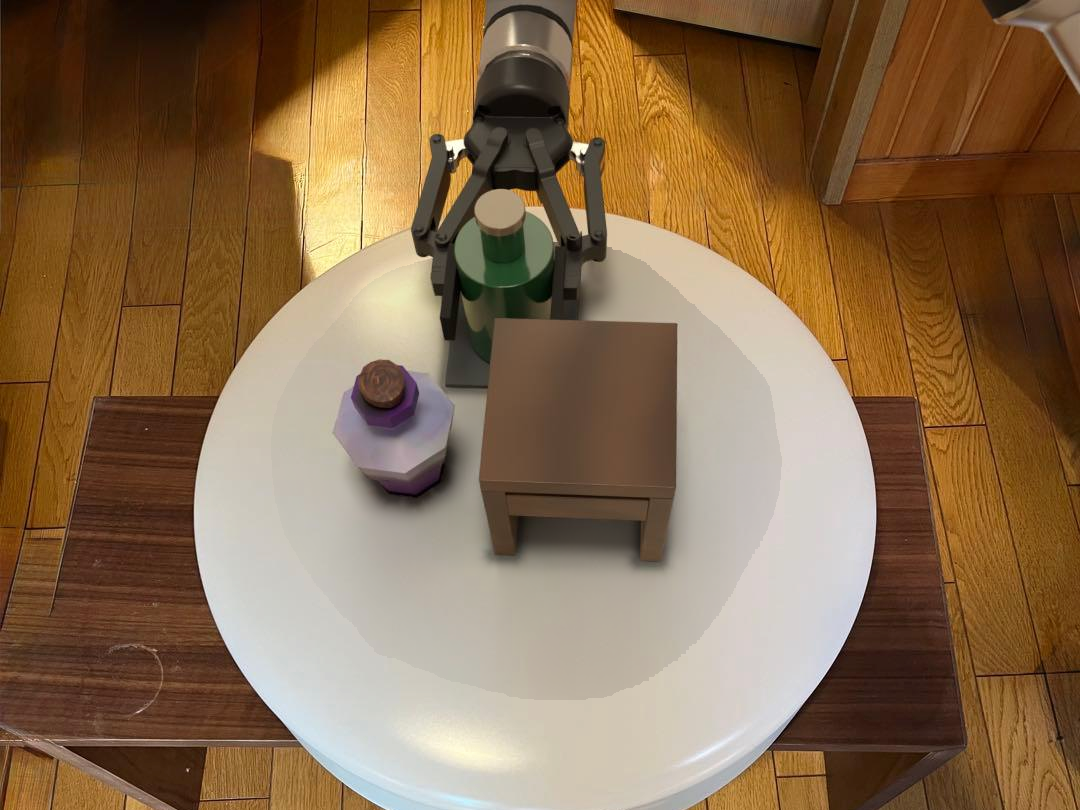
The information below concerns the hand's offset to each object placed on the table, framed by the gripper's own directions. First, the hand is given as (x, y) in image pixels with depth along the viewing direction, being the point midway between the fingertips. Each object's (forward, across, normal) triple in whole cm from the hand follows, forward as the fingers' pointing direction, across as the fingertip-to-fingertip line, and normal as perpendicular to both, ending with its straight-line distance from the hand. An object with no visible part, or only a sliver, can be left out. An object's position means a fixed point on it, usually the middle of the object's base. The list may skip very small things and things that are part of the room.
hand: (501, 330), depth 69 cm
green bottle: (-5, 0, -7) cm, 9 cm away
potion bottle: (+7, +7, -8) cm, 13 cm away
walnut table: (+8, -6, -8) cm, 13 cm away
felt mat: (-5, 0, -8) cm, 9 cm away
